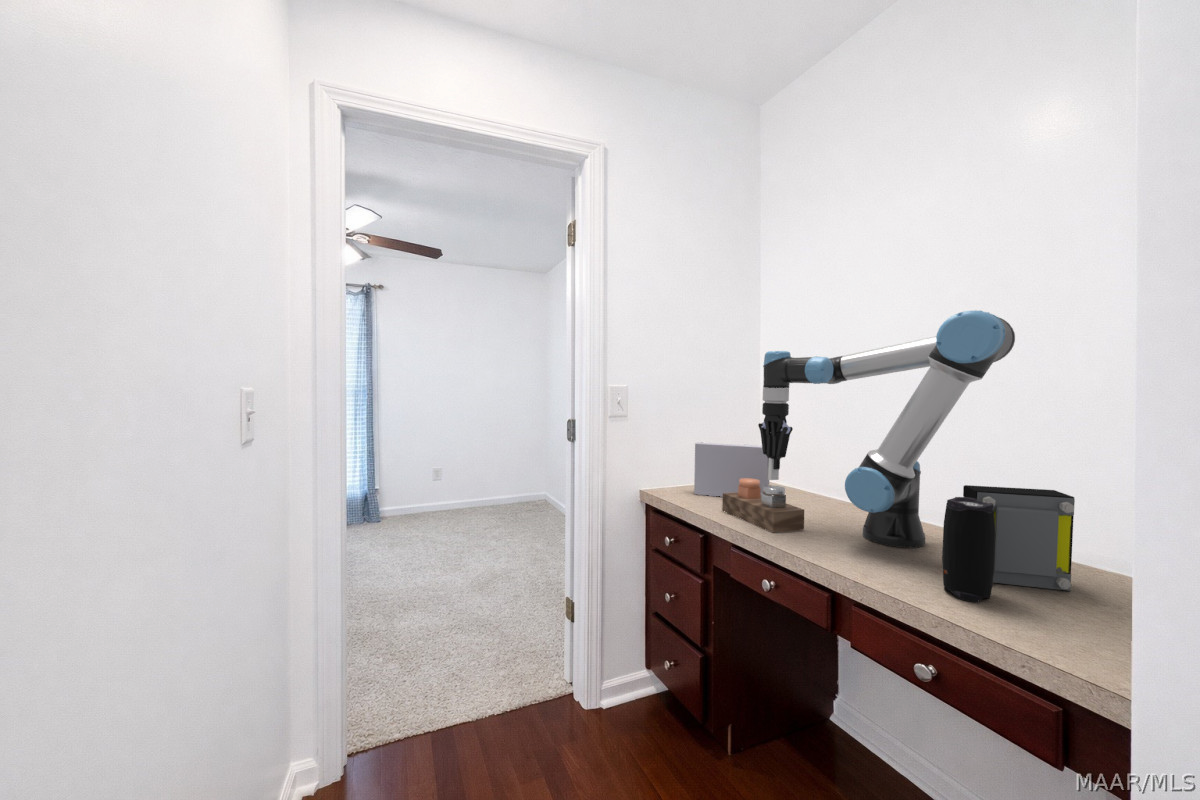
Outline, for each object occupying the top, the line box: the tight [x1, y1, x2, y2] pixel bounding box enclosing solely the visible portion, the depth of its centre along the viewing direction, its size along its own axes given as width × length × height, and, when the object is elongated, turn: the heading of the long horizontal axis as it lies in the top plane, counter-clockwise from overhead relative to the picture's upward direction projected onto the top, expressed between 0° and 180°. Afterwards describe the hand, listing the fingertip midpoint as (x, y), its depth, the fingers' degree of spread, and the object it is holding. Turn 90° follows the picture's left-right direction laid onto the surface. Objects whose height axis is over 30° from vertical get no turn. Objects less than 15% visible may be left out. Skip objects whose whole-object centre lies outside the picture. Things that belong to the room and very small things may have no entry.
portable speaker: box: [941, 496, 996, 603], centre depth 102 cm, size 9×9×20 cm
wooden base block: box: [721, 492, 805, 534], centre depth 157 cm, size 26×11×6 cm, turn 19°
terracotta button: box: [738, 478, 761, 499], centre depth 162 cm, size 6×6×6 cm
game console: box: [693, 441, 770, 498], centre depth 188 cm, size 6×27×20 cm, turn 67°
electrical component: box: [962, 484, 1076, 592], centre depth 109 cm, size 18×10×20 cm, turn 73°
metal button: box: [761, 484, 787, 508], centre depth 151 cm, size 6×6×6 cm
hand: (773, 479), depth 151 cm, fingers closed
